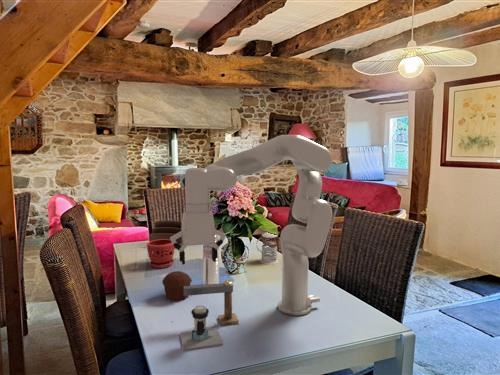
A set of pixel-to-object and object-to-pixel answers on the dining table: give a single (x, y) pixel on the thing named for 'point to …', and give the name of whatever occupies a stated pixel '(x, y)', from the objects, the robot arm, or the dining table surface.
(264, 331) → the dining table surface
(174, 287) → the muffin
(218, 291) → the steel strap
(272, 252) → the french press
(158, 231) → the letter holder
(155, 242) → the plant pot
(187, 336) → the rubber mat
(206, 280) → the water bottle
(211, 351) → the dining table surface
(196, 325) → the push button
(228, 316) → the post
